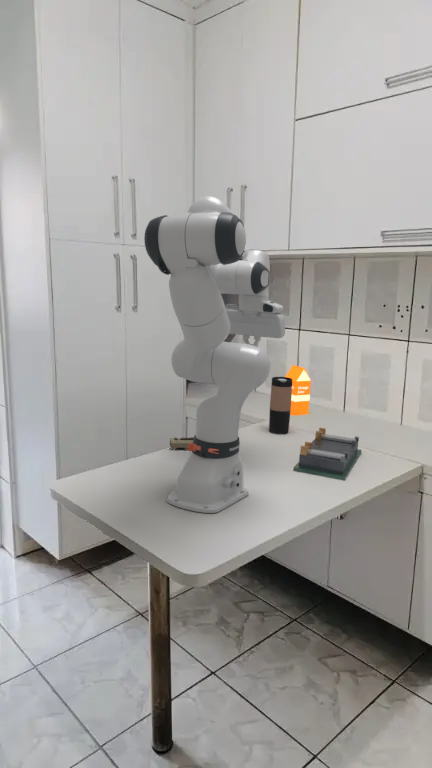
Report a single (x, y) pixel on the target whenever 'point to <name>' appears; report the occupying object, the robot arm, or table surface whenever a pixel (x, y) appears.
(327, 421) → the table surface
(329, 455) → the strap front
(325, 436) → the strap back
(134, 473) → the table surface
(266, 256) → the robot arm
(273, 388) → the travel mug
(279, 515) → the table surface
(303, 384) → the orange juice
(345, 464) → the dark piece
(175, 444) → the computer
